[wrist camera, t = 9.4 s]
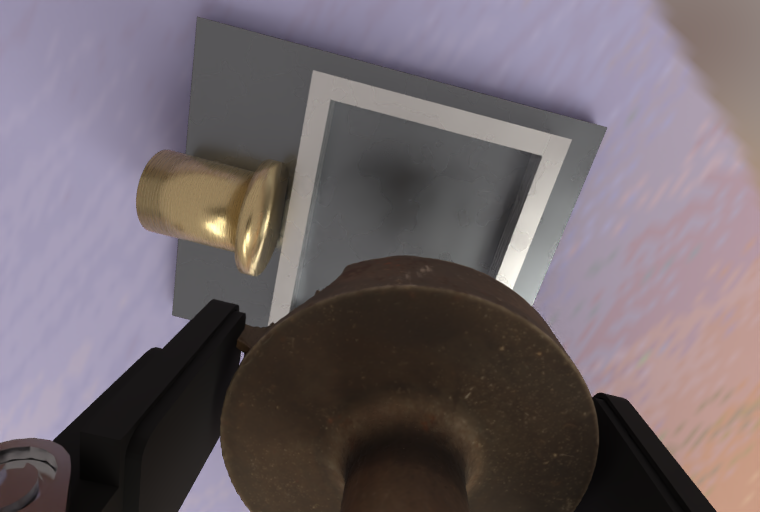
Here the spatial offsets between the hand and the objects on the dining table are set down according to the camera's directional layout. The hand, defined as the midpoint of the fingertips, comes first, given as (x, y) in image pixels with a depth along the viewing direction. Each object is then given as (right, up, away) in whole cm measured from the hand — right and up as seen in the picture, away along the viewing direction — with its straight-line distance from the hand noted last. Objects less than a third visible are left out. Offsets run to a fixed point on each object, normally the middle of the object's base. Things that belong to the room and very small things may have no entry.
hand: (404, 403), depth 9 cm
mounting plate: (-1, +5, +13) cm, 14 cm away
